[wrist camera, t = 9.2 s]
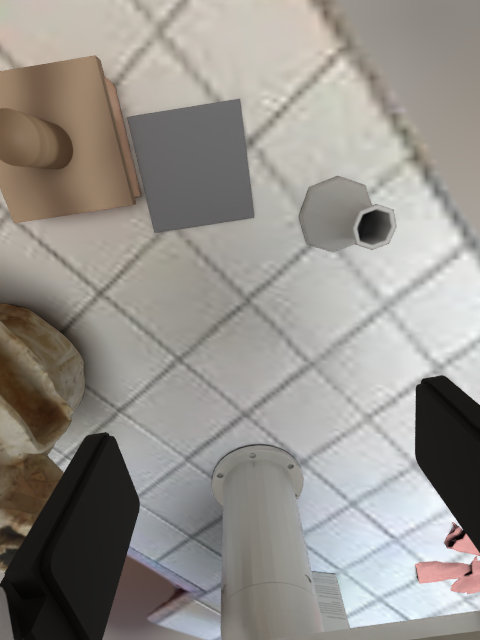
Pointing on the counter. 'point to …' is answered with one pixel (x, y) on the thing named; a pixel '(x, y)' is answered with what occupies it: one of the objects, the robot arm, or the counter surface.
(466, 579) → the cloth
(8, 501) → the ceramic vessel
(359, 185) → the flask
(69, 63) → the lid
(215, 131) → the mat
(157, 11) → the counter surface
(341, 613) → the skincare box
